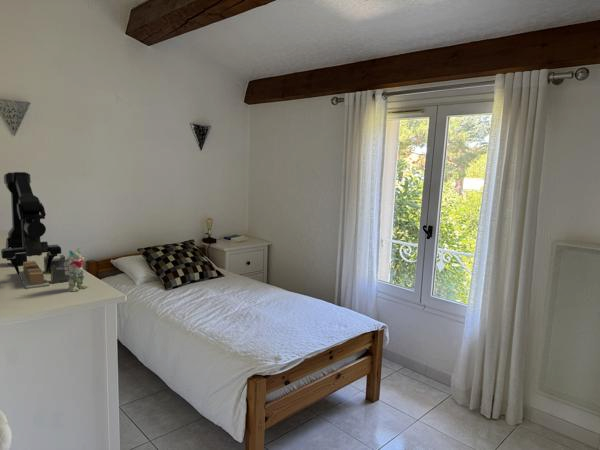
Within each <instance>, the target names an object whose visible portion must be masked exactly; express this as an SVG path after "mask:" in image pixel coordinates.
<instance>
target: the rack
mask: <svg viewBox="0 0 600 450" xmlns="http://www.w3.org/2000/svg"><path fill="white" fill-rule="evenodd" d="M65 260H66V256H65V255H64V254H59V257H55V258H53V259H52V261H51V264H50V267H49V270H48V272H46V256H43V268H44V270H43V271H44V272H43V273H45V274H46V275H47V274H50V282H51V283H52V284H59V283H60V284H61V283H67V282H68V281H69V280H70V279H69V277H70V276H69V275H65V270H64V268H63V267H62V265H63V264H64V263H65ZM68 283H69V282H68Z"/></svg>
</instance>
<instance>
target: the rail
mask: <svg viewBox="0 0 600 450" xmlns="http://www.w3.org/2000/svg"><path fill="white" fill-rule="evenodd" d="M22 269H23V270H22V271H23V272H24V274H25V276H26V277H27V279H28V281H29V283H30V285H39V284H44V277H45V275H44V272H43V271H42V269H41V268H40V267H39V265H38V263H37V262H36V260H32V261H31V260H30V261H28V260H27V262H23V265H22Z"/></svg>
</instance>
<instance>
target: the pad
mask: <svg viewBox="0 0 600 450" xmlns="http://www.w3.org/2000/svg"><path fill="white" fill-rule="evenodd" d="M19 274H20V275H19V276H21V277H20V278H21V281H22V280H23V281H22V282H24V283H23V284H25V285H24V286H25V289H26V290H27V289H36V288H43V287H44V288H45V287H50V283H49V281H48V280H47V279H46V277H45V276H44V284H39V285H30V283H29V281H28V279H27V277H26V276H25V274H24V272H23V270H19Z"/></svg>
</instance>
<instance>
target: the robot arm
mask: <svg viewBox="0 0 600 450" xmlns="http://www.w3.org/2000/svg"><path fill="white" fill-rule="evenodd" d="M3 183H4V184H5V187H6V188H7V190H8V191H9V193H10V202H11V226H12V227H11V228H10V230H9V231H8V233H7V237H6V239H5V248H2V249H1V250H0V256H1V258H2V259H3V260H5V259H6V261H10V262H7V264H8V265H9V266H12V267H14V269H15V272H16V274H17V275H18V276H20V275H19V271H20V270H19V267H20V266H23V262H28V257H33V256H38V257H39V256H42V255H43V253H46V256H45V257H46V272H48V270H49V267H50V264H51V261H52V259H55V258H56V257H58V255H62V247H61V246H60V245H58V244H48V241H41V237H43V236H44V234H45V233H46V231H47V228H46V226H45V224H44V223H43V222H41V220H43V219H44V220H45V219H46V218H45V217H46V216H47V215H46V214H47V213H46V210H45V207H44V205H43V203H42V202H41V201H40V199H39V197H38V196H36V195H34V192H33V191H32V187H31V183H32V181H31V174H30V173H28V172H25V171H23V172H22V171H15V172H7V173H4V175H3Z"/></svg>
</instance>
